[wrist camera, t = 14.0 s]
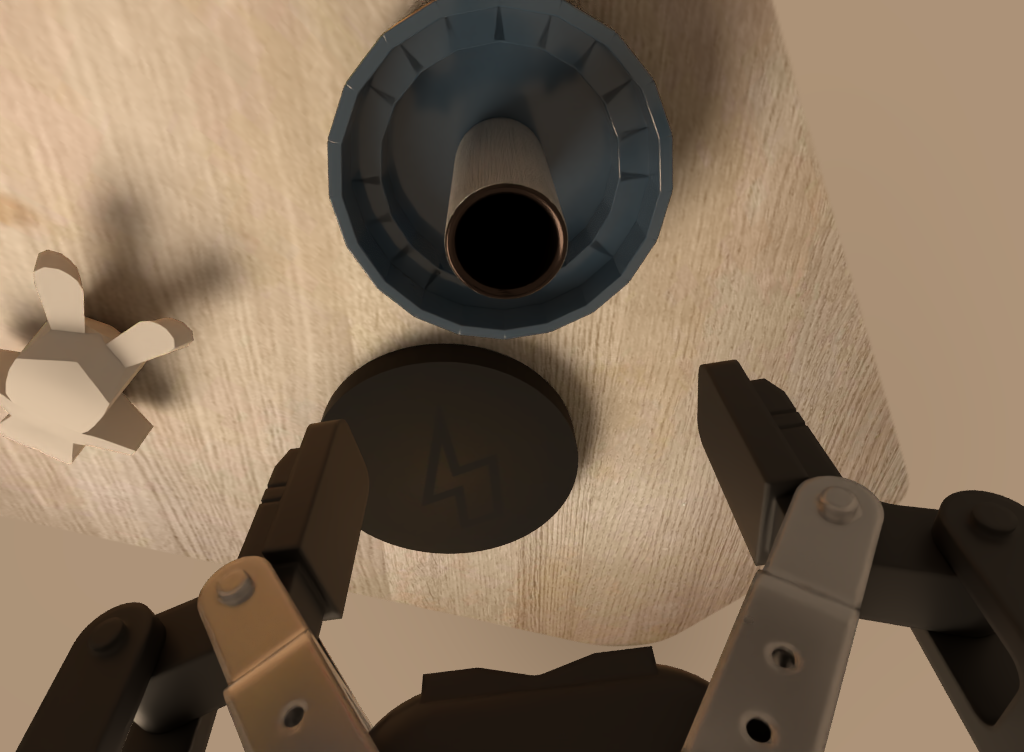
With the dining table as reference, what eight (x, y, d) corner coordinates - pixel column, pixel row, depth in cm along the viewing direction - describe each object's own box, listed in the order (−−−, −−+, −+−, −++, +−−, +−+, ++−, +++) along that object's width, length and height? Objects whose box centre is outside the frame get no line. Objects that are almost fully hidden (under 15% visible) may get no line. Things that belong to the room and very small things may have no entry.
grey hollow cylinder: (439, 139, 29) (421, 213, 21) (525, 100, 28) (542, 162, 20) (477, 220, 32) (475, 317, 23) (557, 187, 31) (584, 275, 22)
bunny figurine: (-70, 433, 34) (-19, 264, 26) (-8, 376, 38) (53, 213, 30) (99, 504, 38) (187, 373, 30) (140, 445, 42) (228, 316, 34)
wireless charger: (471, 292, 35) (470, 309, 33) (620, 466, 43) (625, 486, 42) (264, 432, 40) (255, 452, 39) (433, 561, 49) (431, 582, 47)
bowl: (303, 20, 26) (270, 32, 22) (642, -47, 26) (672, -48, 21) (396, 312, 35) (385, 359, 31) (651, 270, 34) (673, 312, 30)
